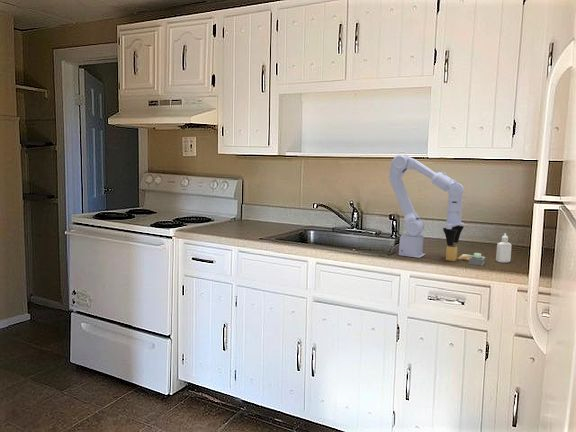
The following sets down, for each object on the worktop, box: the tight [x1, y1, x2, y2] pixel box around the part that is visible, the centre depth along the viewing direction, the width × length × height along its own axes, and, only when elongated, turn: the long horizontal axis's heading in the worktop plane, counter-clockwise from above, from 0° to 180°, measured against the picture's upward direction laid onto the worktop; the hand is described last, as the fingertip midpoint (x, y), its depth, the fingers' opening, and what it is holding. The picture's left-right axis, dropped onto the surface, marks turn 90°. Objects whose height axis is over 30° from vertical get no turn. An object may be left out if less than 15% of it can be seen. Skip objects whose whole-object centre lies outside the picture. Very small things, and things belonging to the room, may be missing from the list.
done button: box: [473, 252, 482, 259], centre depth 194 cm, size 3×3×3 cm
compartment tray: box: [456, 253, 487, 262], centre depth 203 cm, size 10×10×1 cm
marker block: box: [445, 243, 458, 262], centre depth 201 cm, size 4×4×6 cm
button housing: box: [468, 256, 486, 266], centre depth 194 cm, size 5×5×2 cm
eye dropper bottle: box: [495, 232, 512, 264], centre depth 198 cm, size 4×6×12 cm
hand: (452, 244), depth 200 cm, fingers open, 7 cm apart
